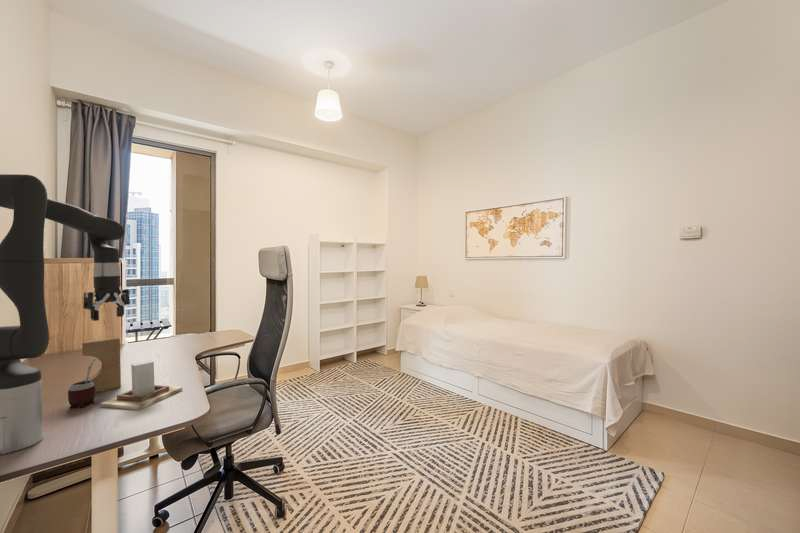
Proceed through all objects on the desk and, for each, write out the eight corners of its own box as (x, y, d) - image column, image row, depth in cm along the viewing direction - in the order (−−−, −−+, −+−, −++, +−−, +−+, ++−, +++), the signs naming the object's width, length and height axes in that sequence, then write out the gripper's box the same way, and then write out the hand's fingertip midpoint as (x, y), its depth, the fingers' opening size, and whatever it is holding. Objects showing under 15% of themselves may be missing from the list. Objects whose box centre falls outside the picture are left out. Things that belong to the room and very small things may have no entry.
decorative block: (83, 395, 126) (82, 343, 126) (83, 391, 130) (82, 341, 130) (121, 387, 134) (119, 338, 134) (119, 383, 138) (118, 336, 138)
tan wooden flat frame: (137, 410, 113) (137, 402, 113) (100, 406, 116) (100, 398, 116) (182, 390, 131) (182, 383, 131) (149, 387, 134) (148, 380, 134)
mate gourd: (68, 411, 112) (67, 368, 112) (68, 405, 118) (67, 363, 118) (98, 404, 118) (97, 363, 117) (96, 398, 123) (95, 358, 123)
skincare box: (151, 390, 127) (150, 359, 127) (154, 393, 124) (154, 361, 124) (131, 395, 122) (130, 363, 122) (134, 398, 119) (134, 365, 119)
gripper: (118, 274, 130) (119, 315, 130) (77, 275, 116) (78, 321, 116) (134, 274, 128) (135, 315, 129) (93, 275, 114) (94, 322, 115)
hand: (108, 318), depth 122 cm, fingers open, 8 cm apart
